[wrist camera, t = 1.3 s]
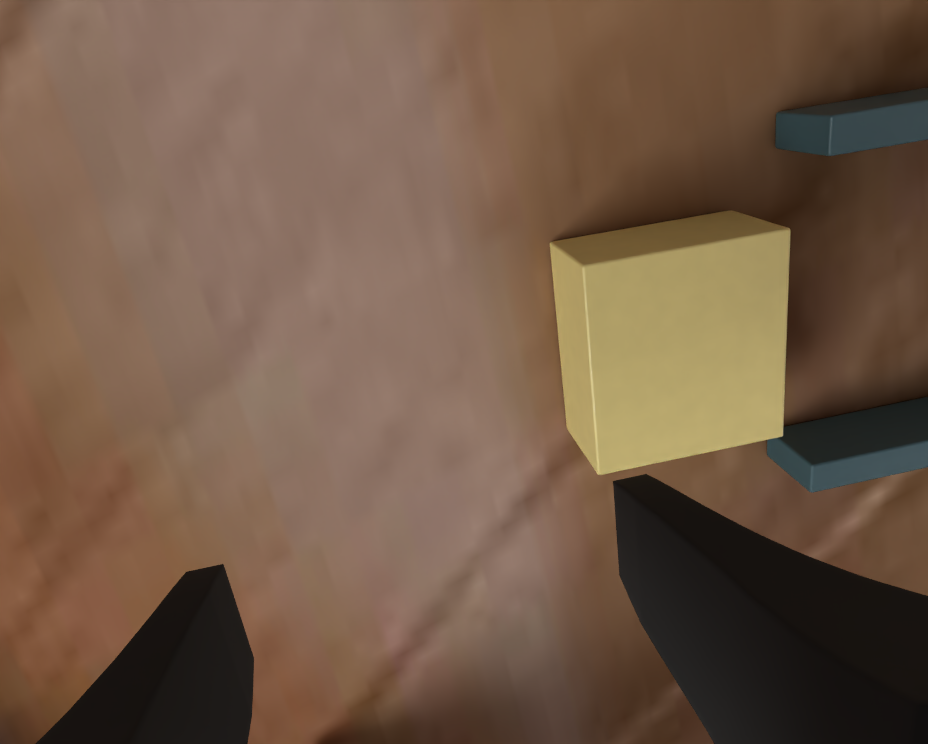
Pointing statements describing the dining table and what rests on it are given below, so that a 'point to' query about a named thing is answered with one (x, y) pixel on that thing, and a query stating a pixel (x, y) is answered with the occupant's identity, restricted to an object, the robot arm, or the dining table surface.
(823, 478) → the bay
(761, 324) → the block
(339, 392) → the dining table surface
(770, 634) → the robot arm
